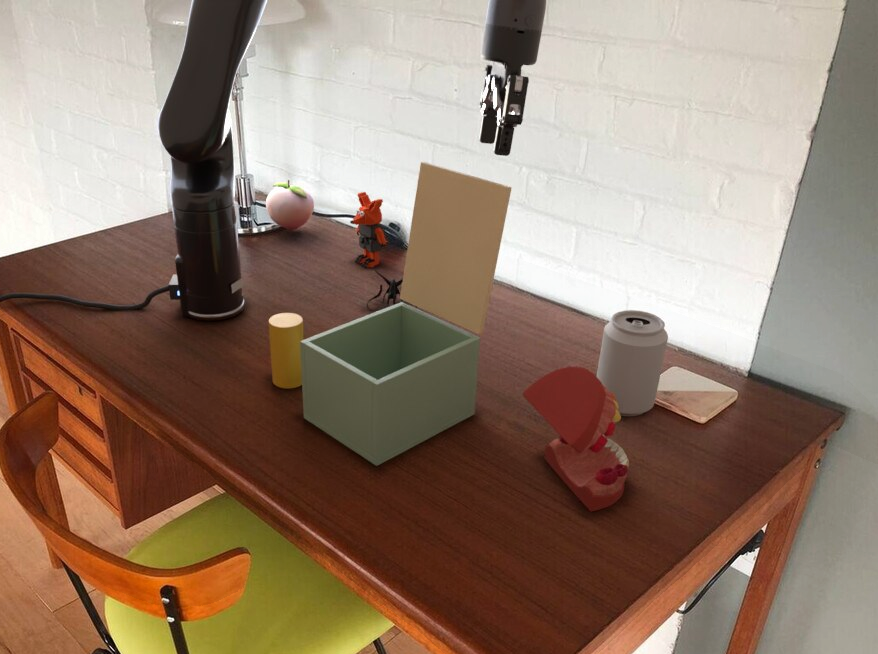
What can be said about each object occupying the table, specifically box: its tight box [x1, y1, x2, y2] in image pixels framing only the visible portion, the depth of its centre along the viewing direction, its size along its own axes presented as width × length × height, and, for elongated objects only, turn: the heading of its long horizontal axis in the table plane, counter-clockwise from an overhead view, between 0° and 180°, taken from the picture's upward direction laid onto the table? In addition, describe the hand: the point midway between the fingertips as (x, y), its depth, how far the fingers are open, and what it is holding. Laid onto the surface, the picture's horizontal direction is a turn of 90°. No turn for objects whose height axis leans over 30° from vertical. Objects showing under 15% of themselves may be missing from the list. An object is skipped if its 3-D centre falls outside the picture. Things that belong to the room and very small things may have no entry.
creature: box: [366, 270, 418, 312], centre depth 130 cm, size 8×5×8 cm
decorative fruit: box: [265, 179, 315, 232], centre depth 159 cm, size 9×8×10 cm
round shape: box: [268, 312, 305, 389], centre depth 109 cm, size 4×4×9 cm
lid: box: [399, 161, 512, 335], centre depth 99 cm, size 17×14×1 cm
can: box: [596, 309, 669, 417], centre depth 103 cm, size 8×8×12 cm
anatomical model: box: [522, 366, 630, 513], centre depth 89 cm, size 10×8×15 cm
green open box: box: [300, 301, 481, 467], centre depth 101 cm, size 17×14×11 cm
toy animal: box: [349, 191, 387, 268], centre depth 144 cm, size 8×5×12 cm
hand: (493, 148), depth 117 cm, fingers open, 8 cm apart
